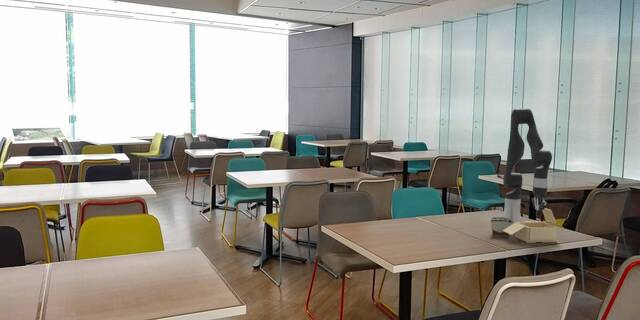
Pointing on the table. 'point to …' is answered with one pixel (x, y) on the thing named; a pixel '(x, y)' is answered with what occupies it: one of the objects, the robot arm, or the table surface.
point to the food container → (500, 226)
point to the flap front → (513, 228)
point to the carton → (537, 232)
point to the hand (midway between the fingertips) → (538, 216)
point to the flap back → (549, 216)
